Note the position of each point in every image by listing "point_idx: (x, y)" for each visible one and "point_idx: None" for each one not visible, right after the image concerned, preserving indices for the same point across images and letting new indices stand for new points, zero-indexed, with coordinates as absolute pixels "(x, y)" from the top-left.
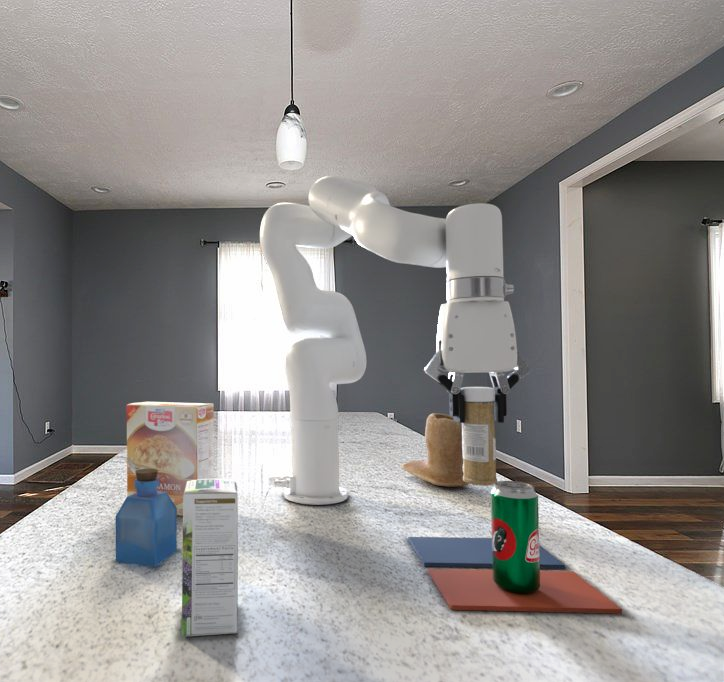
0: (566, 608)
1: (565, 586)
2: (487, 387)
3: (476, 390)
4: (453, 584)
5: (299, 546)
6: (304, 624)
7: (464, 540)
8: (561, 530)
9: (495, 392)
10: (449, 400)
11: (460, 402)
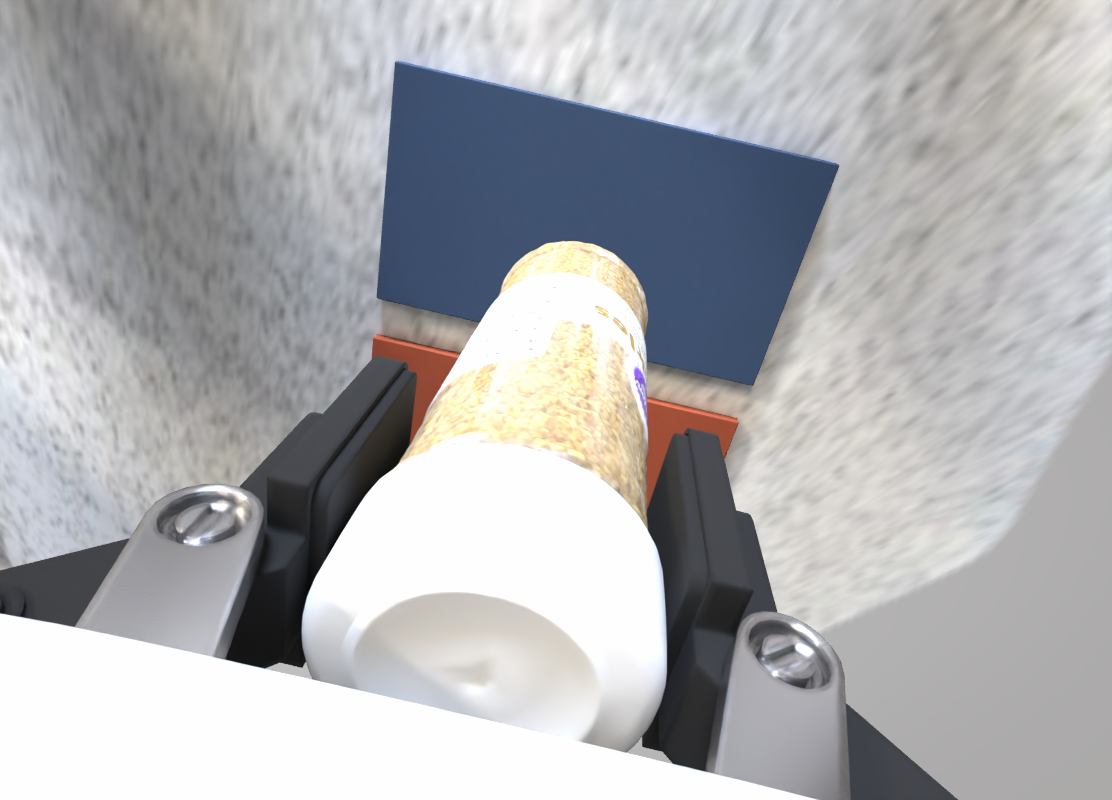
0: None
1: (647, 485)
2: (578, 725)
3: None
4: None
5: (14, 56)
6: (90, 486)
7: (584, 140)
8: (1085, 51)
9: (673, 685)
10: (256, 471)
11: None
